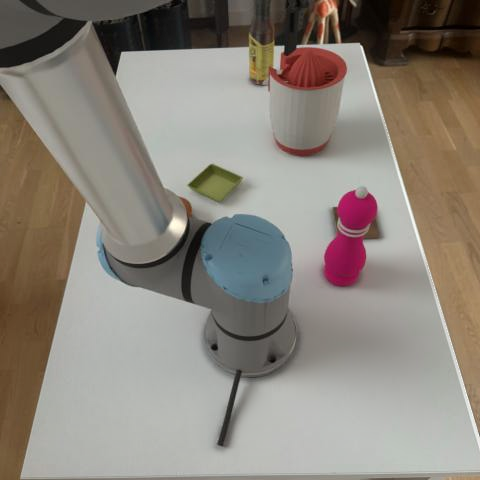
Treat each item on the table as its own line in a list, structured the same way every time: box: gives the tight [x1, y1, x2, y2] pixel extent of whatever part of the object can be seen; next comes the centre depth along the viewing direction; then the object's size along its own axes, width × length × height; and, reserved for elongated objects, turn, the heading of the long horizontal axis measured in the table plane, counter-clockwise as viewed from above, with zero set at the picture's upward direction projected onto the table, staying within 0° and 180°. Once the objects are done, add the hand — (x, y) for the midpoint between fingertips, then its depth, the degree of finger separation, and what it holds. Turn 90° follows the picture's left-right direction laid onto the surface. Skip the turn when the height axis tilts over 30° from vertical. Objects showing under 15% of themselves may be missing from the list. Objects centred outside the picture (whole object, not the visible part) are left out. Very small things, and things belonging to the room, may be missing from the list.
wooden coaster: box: [331, 206, 380, 240], centre depth 87 cm, size 8×8×1 cm
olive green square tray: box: [187, 163, 243, 203], centre depth 94 cm, size 9×9×2 cm
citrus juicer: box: [261, 46, 348, 157], centre depth 94 cm, size 16×17×20 cm
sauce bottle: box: [248, 0, 275, 86], centre depth 108 cm, size 6×6×20 cm
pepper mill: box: [323, 185, 379, 288], centre depth 73 cm, size 7×7×20 cm
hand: (255, 41), depth 74 cm, fingers open, 13 cm apart
